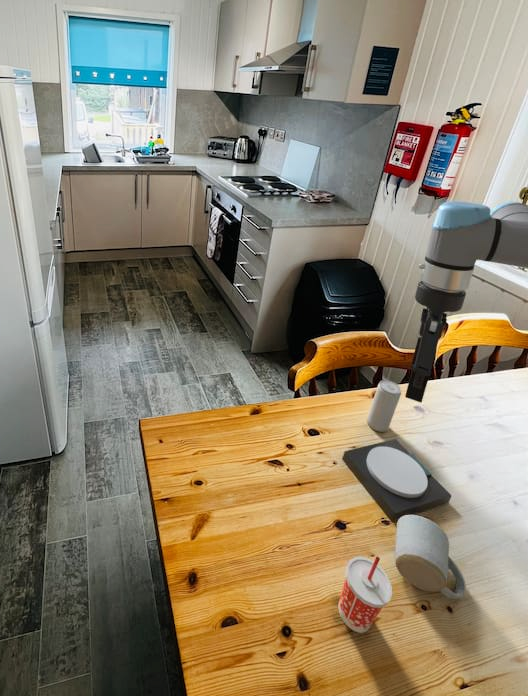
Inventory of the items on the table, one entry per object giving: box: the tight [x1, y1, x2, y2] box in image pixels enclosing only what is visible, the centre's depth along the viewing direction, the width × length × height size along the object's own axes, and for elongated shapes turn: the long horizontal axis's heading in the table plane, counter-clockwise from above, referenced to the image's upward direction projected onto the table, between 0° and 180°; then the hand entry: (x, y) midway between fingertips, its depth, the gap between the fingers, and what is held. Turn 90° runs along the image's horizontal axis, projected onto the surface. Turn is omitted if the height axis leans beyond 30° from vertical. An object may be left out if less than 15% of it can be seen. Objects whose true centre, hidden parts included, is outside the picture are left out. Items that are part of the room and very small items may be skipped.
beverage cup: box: [337, 556, 393, 634], centre depth 58 cm, size 6×6×14 cm
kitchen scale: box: [341, 438, 452, 522], centre depth 82 cm, size 14×14×3 cm
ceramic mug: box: [394, 514, 467, 600], centre depth 65 cm, size 11×8×8 cm
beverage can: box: [366, 379, 402, 433], centre depth 93 cm, size 5×5×12 cm
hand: (416, 381), depth 80 cm, fingers open, 13 cm apart
